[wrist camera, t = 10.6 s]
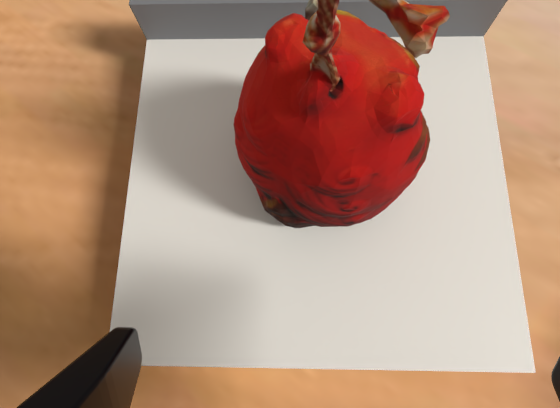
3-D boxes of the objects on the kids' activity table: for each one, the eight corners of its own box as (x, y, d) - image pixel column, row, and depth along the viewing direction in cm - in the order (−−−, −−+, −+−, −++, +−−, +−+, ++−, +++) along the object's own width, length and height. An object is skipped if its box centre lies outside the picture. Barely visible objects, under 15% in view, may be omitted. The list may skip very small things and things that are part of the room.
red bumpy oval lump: (421, 146, 20) (774, -338, 5) (357, 273, 18) (611, 74, 4) (285, 81, 21) (268, -451, 7) (213, 195, 19) (-23, -186, 5)
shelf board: (499, 365, 19) (576, 380, 14) (132, 359, 20) (75, 371, 15) (458, 49, 25) (503, -26, 19) (166, 51, 25) (132, -21, 20)
